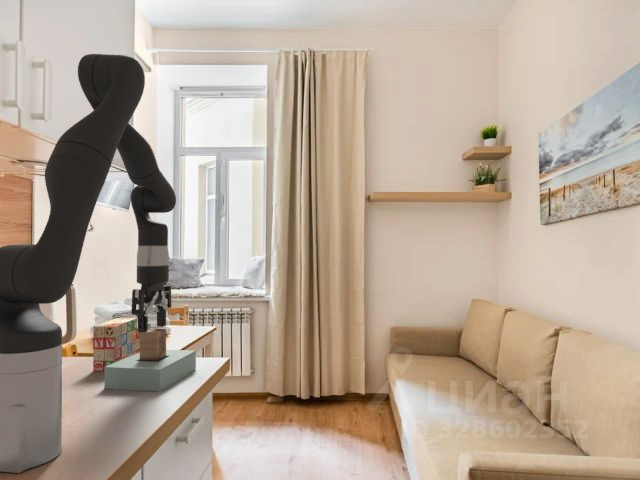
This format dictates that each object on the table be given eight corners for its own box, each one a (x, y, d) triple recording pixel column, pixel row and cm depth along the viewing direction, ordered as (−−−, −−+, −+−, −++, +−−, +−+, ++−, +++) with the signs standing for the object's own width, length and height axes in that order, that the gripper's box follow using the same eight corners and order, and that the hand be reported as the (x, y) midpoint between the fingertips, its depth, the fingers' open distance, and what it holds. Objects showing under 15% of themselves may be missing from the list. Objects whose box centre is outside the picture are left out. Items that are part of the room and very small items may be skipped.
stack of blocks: (131, 352, 137) (131, 313, 137) (151, 352, 136) (151, 313, 137) (92, 372, 115) (92, 325, 116) (115, 372, 115) (115, 325, 115)
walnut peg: (156, 381, 106) (156, 332, 106) (139, 381, 107) (139, 332, 107) (166, 376, 111) (166, 328, 111) (149, 375, 111) (149, 328, 112)
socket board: (160, 391, 99) (160, 369, 99) (104, 388, 101) (104, 366, 101) (195, 369, 117) (195, 350, 117) (147, 367, 119) (147, 349, 119)
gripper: (151, 265, 102) (150, 334, 101) (180, 263, 116) (180, 324, 115) (121, 264, 103) (121, 333, 103) (154, 263, 117) (154, 324, 117)
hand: (152, 328), depth 109 cm, fingers open, 8 cm apart
